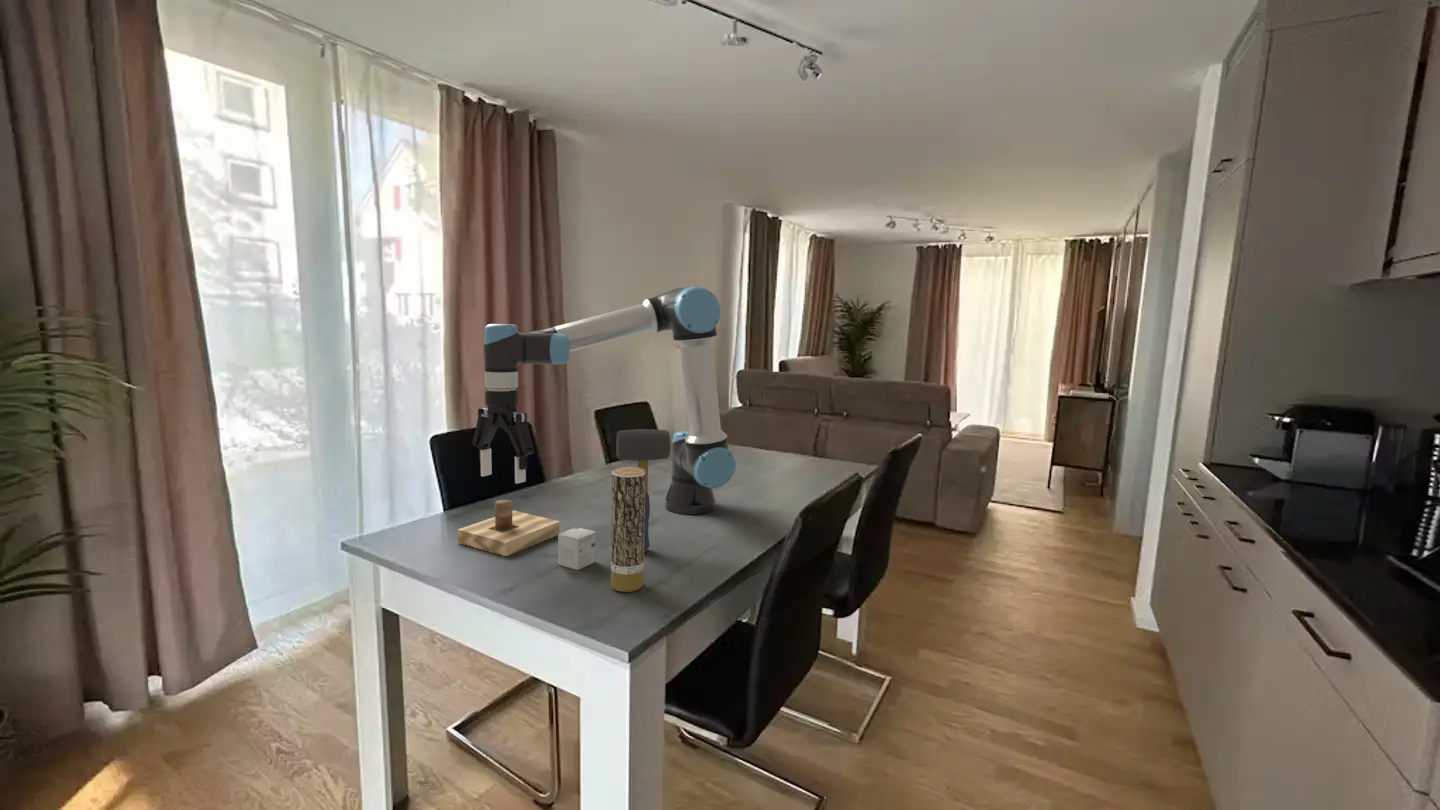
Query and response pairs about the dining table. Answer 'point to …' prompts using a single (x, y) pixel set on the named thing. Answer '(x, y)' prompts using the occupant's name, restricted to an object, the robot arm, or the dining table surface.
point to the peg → (503, 515)
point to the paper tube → (627, 528)
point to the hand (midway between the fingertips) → (503, 478)
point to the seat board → (509, 534)
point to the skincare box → (576, 548)
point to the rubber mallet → (643, 456)
